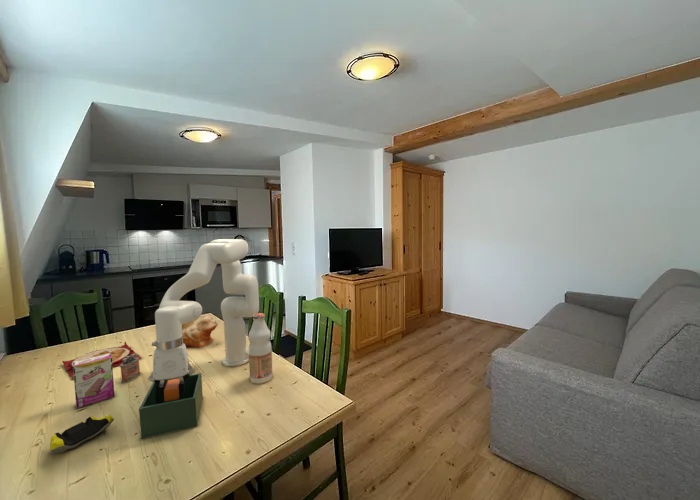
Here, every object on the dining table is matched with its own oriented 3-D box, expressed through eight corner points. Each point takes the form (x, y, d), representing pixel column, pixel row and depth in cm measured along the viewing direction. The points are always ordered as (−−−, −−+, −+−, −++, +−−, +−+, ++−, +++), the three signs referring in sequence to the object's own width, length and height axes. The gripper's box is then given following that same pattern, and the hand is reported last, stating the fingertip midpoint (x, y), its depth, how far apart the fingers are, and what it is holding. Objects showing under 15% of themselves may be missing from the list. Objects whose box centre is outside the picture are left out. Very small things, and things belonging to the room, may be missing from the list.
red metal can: (125, 383, 126) (123, 360, 125) (119, 382, 126) (117, 359, 125) (142, 373, 134) (140, 352, 133) (136, 373, 134) (134, 351, 133)
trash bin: (202, 397, 115) (201, 373, 114) (197, 426, 98) (195, 397, 97) (155, 406, 109) (153, 381, 108) (141, 438, 93) (138, 409, 92)
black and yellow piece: (117, 430, 97) (101, 422, 101) (116, 414, 96) (99, 406, 100) (56, 464, 83) (40, 452, 88) (54, 446, 83) (38, 435, 87)
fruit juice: (247, 384, 123) (243, 318, 121) (253, 373, 133) (250, 311, 130) (269, 383, 124) (267, 318, 121) (274, 372, 133) (272, 311, 131)
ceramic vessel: (211, 348, 160) (210, 321, 159) (163, 348, 160) (161, 321, 159) (223, 338, 174) (221, 313, 173) (178, 338, 174) (176, 313, 173)
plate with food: (62, 365, 143) (61, 358, 143) (126, 346, 163) (126, 340, 163) (72, 381, 129) (71, 374, 128) (142, 358, 149) (141, 352, 148)
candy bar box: (76, 409, 108) (72, 366, 106) (76, 404, 111) (71, 361, 110) (115, 397, 116) (112, 356, 114) (113, 391, 119) (110, 352, 118)
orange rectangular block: (181, 388, 107) (181, 377, 106) (178, 399, 100) (177, 387, 100) (168, 390, 105) (168, 380, 105) (164, 401, 99) (163, 390, 99)
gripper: (137, 351, 95) (141, 406, 96) (196, 343, 101) (199, 395, 102) (144, 342, 102) (148, 394, 103) (198, 335, 108) (201, 384, 109)
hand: (173, 394), depth 103 cm, fingers closed on orange rectangular block, 4 cm apart
